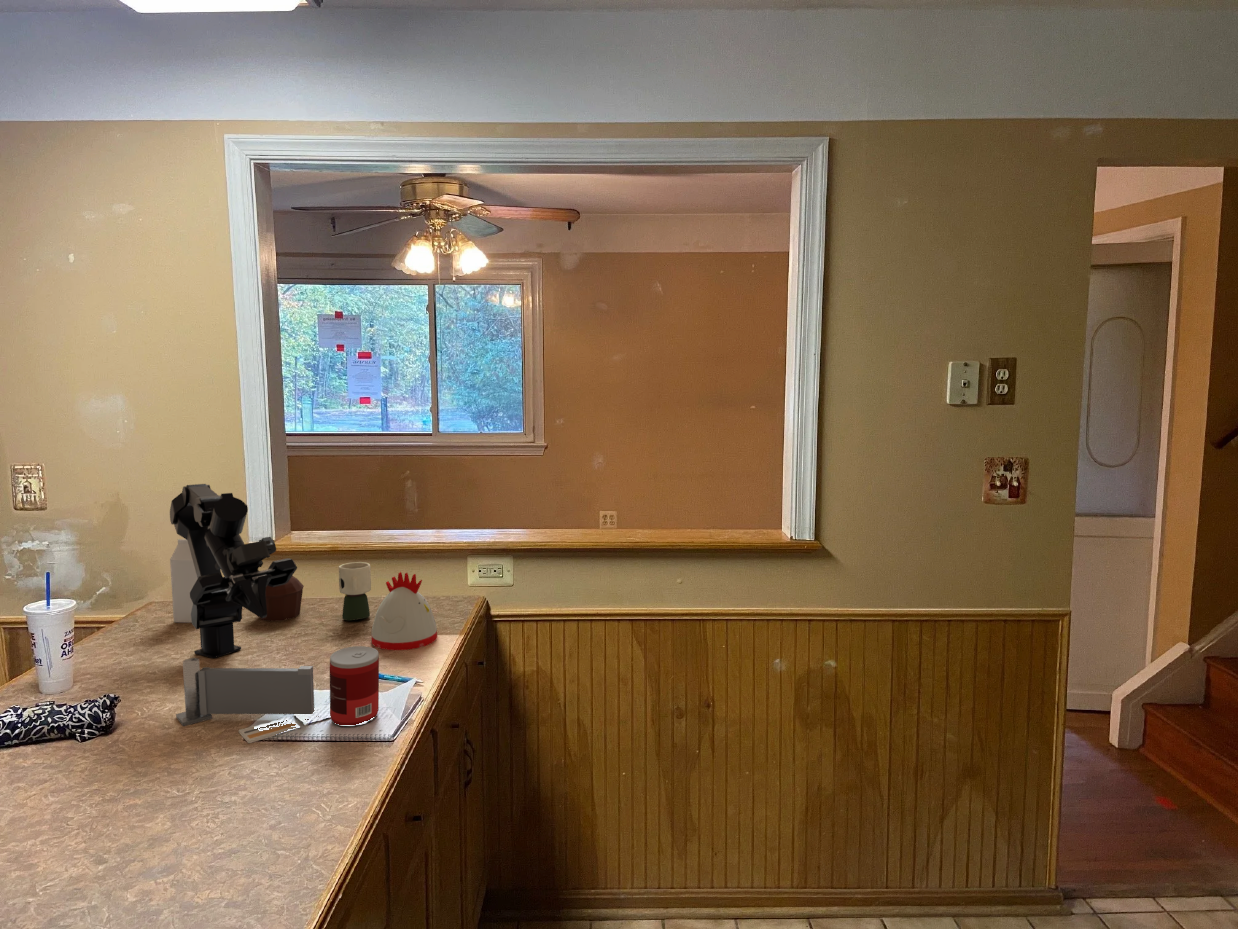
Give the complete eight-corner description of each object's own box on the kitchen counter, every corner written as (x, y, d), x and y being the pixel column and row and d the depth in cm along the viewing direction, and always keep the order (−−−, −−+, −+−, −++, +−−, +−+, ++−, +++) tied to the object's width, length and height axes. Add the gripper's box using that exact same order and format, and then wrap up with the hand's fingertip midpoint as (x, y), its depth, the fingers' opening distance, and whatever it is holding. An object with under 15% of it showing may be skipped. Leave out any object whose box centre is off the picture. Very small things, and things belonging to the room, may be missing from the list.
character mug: (341, 613, 189) (339, 561, 188) (372, 611, 191) (370, 559, 190) (338, 627, 179) (337, 571, 177) (371, 624, 181) (369, 570, 179)
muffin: (258, 610, 191) (256, 570, 190) (306, 606, 194) (304, 567, 193) (250, 625, 180) (248, 583, 179) (302, 621, 183) (300, 579, 182)
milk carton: (203, 623, 181) (199, 543, 179) (173, 623, 181) (168, 542, 179) (219, 614, 188) (215, 536, 186) (190, 613, 188) (186, 536, 186)
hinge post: (182, 726, 128) (179, 667, 127) (176, 717, 131) (172, 660, 130) (212, 718, 131) (209, 661, 130) (204, 710, 134) (201, 654, 133)
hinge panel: (200, 714, 130) (198, 669, 129) (206, 710, 132) (203, 665, 131) (311, 715, 130) (309, 669, 129) (315, 710, 132) (313, 665, 131)
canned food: (385, 707, 135) (386, 647, 133) (366, 730, 127) (366, 666, 125) (343, 703, 136) (343, 643, 134) (321, 725, 128) (320, 662, 126)
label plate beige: (289, 718, 131) (289, 715, 131) (300, 728, 127) (300, 725, 127) (238, 732, 126) (238, 729, 126) (248, 743, 122) (248, 740, 122)
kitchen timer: (419, 652, 163) (417, 582, 161) (359, 647, 166) (357, 578, 164) (447, 631, 176) (446, 566, 175) (391, 627, 179) (389, 563, 178)
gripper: (194, 533, 139) (230, 604, 134) (289, 518, 154) (325, 581, 149) (174, 569, 144) (208, 639, 139) (269, 551, 160) (303, 613, 155)
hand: (264, 616), depth 145 cm, fingers closed
